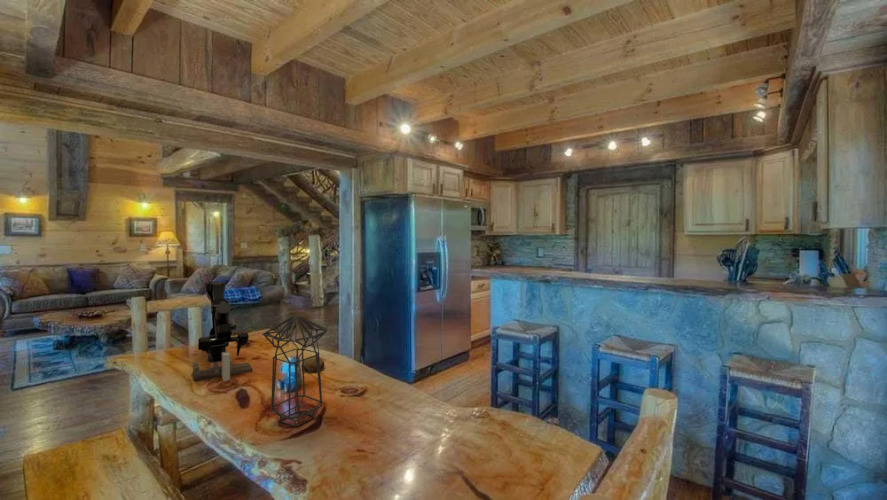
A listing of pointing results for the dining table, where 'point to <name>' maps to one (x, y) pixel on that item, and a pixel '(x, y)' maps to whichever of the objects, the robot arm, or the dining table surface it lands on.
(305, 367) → the brown rough lump
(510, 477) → the dining table surface
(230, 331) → the robot arm
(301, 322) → the geometric lantern
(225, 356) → the rectangular block
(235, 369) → the stand
